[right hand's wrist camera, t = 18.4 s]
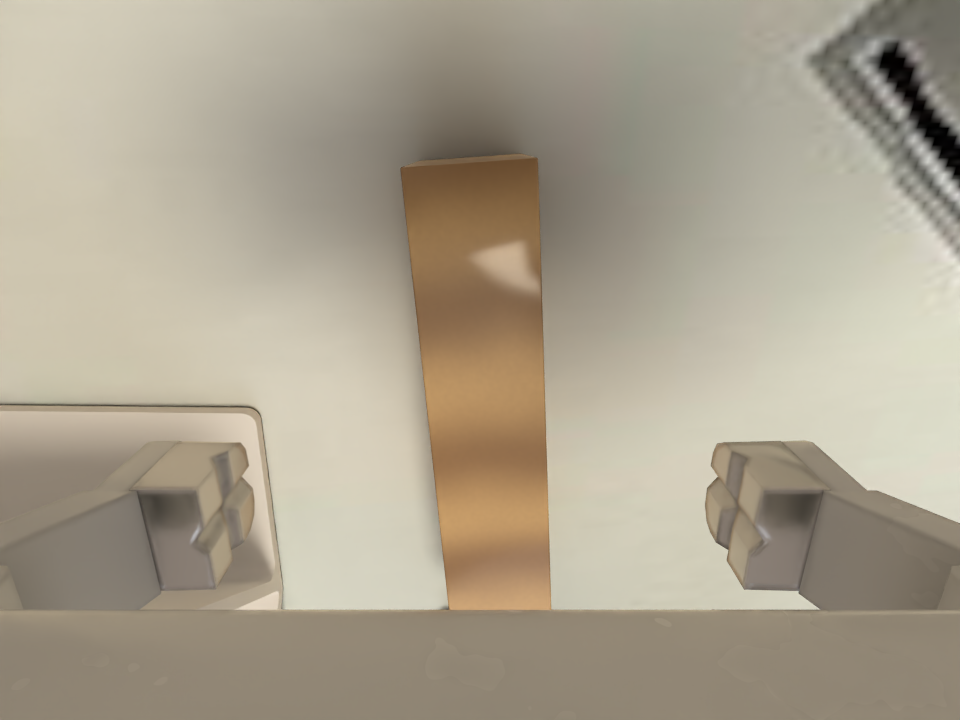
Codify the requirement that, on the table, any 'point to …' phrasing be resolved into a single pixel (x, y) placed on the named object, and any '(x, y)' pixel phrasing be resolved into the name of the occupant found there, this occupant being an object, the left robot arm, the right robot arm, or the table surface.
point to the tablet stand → (110, 443)
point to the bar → (483, 372)
